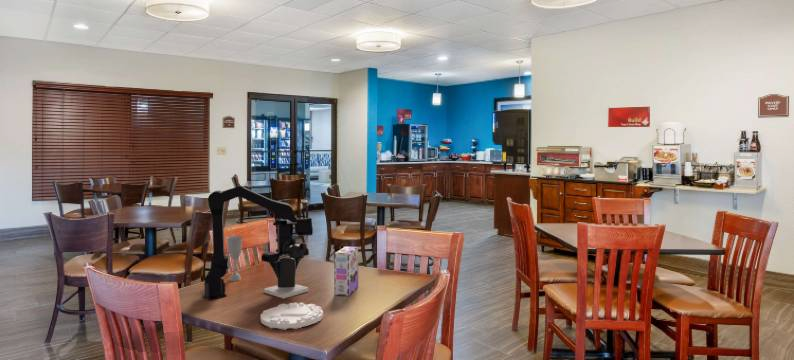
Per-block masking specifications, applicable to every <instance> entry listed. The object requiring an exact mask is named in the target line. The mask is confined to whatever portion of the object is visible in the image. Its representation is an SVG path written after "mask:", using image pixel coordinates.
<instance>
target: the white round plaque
mask: <svg viewBox="0 0 794 360" xmlns="http://www.w3.org/2000/svg"><path fill="white" fill-rule="evenodd" d="M323 317H324V311H323V308H322V307H321V306H319V305H316V304H315V303H309V304H305V302H299V303H298V302H288V304H286V303H280V304H278V305H277V306H275V307H270V308H269V309H265V310H263V312H262V313H261V314H260V324H262V325H264V326H265V327H268V328H270V329H272V328H273V329H278V330H287V329H293V330H297V329H298V328H300V329H302V327H307V326H310V325H313V324H316V323H319V322H320V321H322V319H323ZM318 321H319V322H318Z"/></svg>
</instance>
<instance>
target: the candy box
mask: <svg viewBox="0 0 794 360" xmlns="http://www.w3.org/2000/svg"><path fill="white" fill-rule="evenodd" d="M333 254H334V255H333V256H334V259H333V260H334V263H333V265H334V266H333V269H334V272H333V273H334V274H333V275H334V277H333V278H334V281H333V282H334V283H333V285H334V296H343V297H344V296H345V297H349V296H350V295H351V294H352V293H353V292H354V291H355V290H356V289H357V288H358V287H359V247H358V246H344V247H343V248H340V249H339V250H337V251H336V252H334V253H333Z"/></svg>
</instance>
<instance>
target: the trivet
mask: <svg viewBox="0 0 794 360" xmlns="http://www.w3.org/2000/svg"><path fill="white" fill-rule="evenodd" d="M277 286H278V284H276V285H273V286H269V287H265V288H263V293H265V294H267V295H270V296H275V297H278V298H280V299H286V298H291V297H294V296H297V295H300V294H304V293H307V292H309V287H307V286H305V285H300V284H297V283H295V287H288V288H278V287H277Z"/></svg>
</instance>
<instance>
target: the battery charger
mask: <svg viewBox="0 0 794 360" xmlns="http://www.w3.org/2000/svg"><path fill="white" fill-rule="evenodd" d="M279 261H282V262H281V264H280V278H277V285H278V286H277V285H276V286H277V287H278V288H288V287H295V284H296V274H297V273H296V271H297V269H296V262H295V259H294V258H291V257H290V256H286V257H282V258H279Z"/></svg>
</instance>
